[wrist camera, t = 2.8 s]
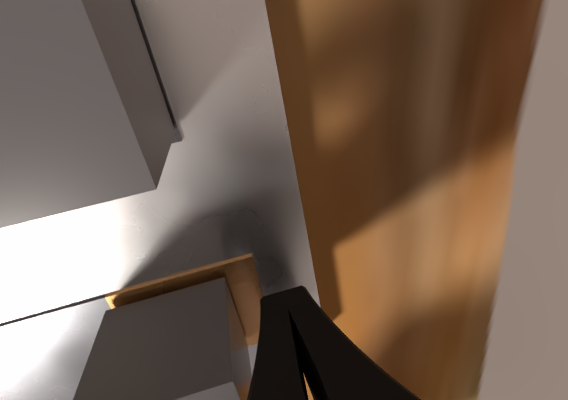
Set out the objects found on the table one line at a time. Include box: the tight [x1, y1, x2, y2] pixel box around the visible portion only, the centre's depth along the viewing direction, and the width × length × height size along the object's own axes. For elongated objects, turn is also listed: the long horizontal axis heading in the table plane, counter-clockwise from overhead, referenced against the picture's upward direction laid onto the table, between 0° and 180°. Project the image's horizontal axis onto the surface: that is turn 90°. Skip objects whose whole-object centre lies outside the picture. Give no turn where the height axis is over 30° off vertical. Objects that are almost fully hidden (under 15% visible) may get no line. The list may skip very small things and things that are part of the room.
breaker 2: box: [73, 277, 252, 400], centre depth 9 cm, size 3×4×4 cm
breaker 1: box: [0, 0, 175, 229], centre depth 6 cm, size 3×4×4 cm
